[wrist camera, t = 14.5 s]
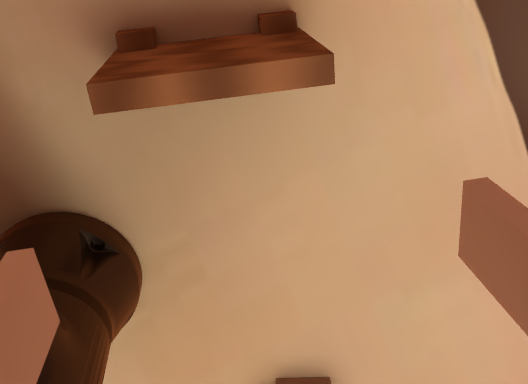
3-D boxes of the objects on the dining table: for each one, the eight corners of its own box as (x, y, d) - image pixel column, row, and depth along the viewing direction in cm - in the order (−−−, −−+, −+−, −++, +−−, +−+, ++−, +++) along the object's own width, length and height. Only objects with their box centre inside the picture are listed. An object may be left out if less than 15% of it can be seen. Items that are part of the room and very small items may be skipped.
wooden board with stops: (125, 89, 45) (99, 136, 33) (112, 31, 43) (79, 60, 31) (301, 67, 46) (335, 105, 34) (297, 9, 44) (332, 29, 32)
